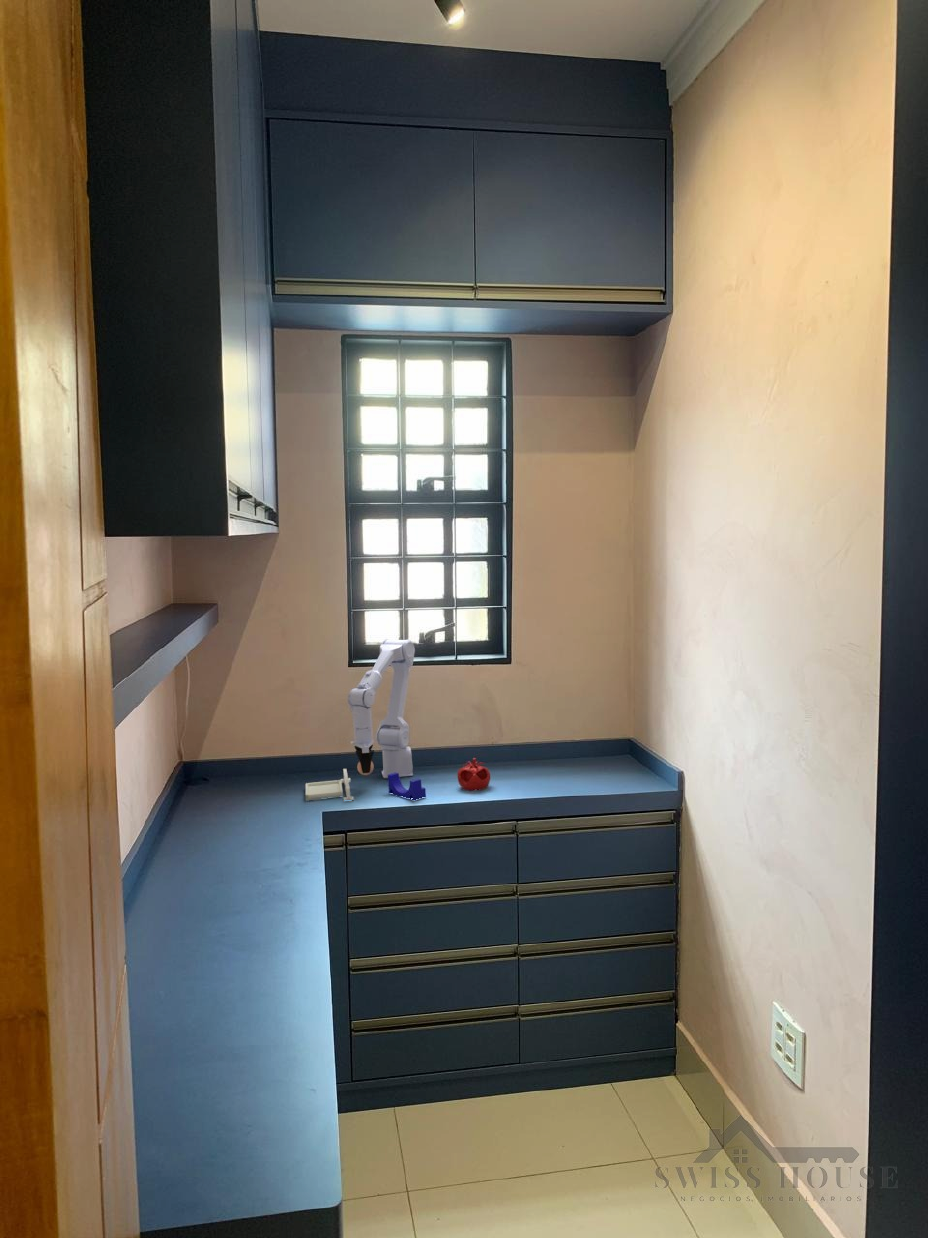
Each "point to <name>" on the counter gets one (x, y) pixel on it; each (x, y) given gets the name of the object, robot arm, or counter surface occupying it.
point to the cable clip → (398, 789)
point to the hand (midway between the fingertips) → (365, 770)
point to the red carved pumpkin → (473, 776)
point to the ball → (361, 768)
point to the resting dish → (323, 789)
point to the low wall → (346, 785)
